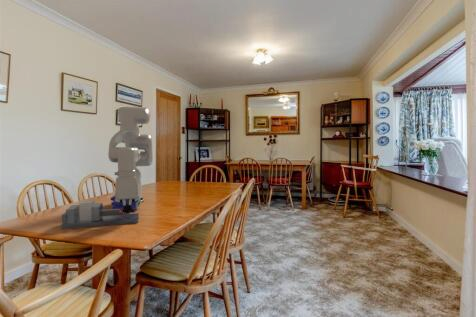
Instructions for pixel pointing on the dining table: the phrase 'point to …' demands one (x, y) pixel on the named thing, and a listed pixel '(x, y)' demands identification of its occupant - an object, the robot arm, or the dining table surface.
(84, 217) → the steel block
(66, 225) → the vise
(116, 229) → the dining table surface
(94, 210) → the sliding jaw
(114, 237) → the dining table surface
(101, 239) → the dining table surface
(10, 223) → the dining table surface
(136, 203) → the toy
